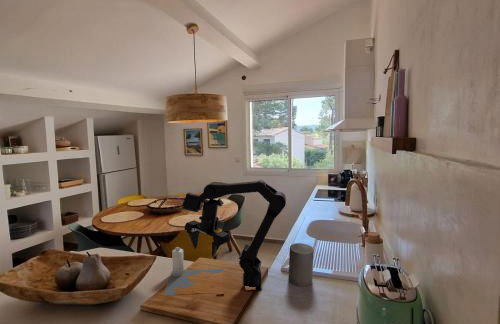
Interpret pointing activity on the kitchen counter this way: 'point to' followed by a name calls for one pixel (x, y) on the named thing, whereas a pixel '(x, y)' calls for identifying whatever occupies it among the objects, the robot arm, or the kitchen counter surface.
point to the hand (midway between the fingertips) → (204, 252)
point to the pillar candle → (301, 264)
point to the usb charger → (177, 262)
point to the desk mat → (184, 280)
